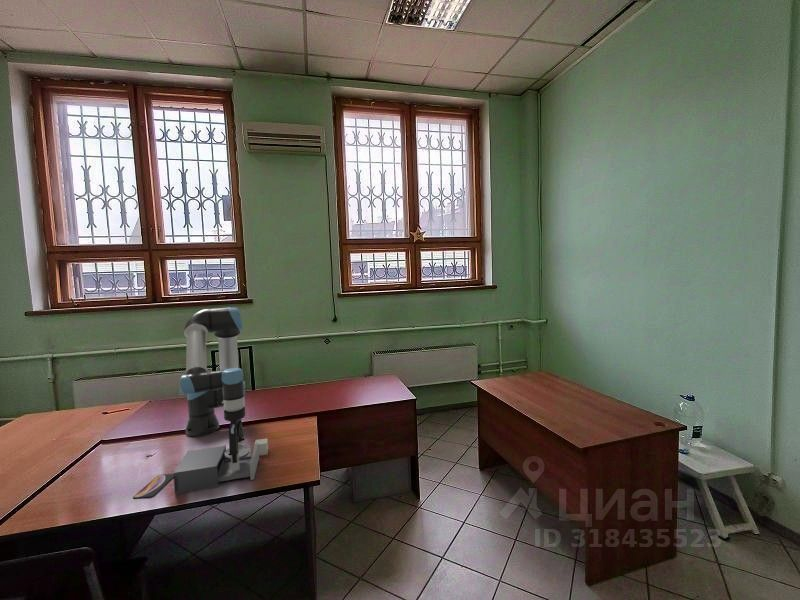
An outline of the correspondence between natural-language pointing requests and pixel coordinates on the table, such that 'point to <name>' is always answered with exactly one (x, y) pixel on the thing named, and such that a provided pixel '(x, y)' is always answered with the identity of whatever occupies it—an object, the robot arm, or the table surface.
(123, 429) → the table surface
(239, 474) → the tray
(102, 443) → the table surface
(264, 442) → the pedestal
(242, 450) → the disc
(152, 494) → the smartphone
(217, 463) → the housing
